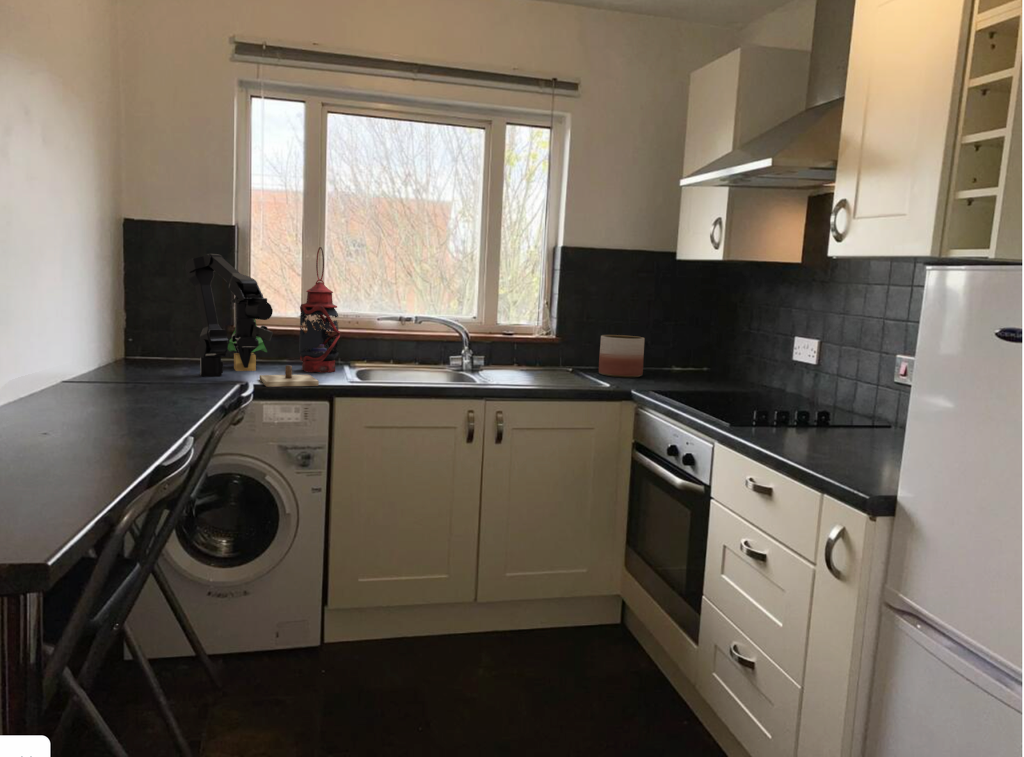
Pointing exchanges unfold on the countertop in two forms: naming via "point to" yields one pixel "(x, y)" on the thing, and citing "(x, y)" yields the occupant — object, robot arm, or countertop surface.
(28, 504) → the countertop surface
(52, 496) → the countertop surface
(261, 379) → the post board
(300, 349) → the lantern
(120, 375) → the countertop surface
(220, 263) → the robot arm
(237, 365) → the wooden crate frame
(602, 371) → the planter
